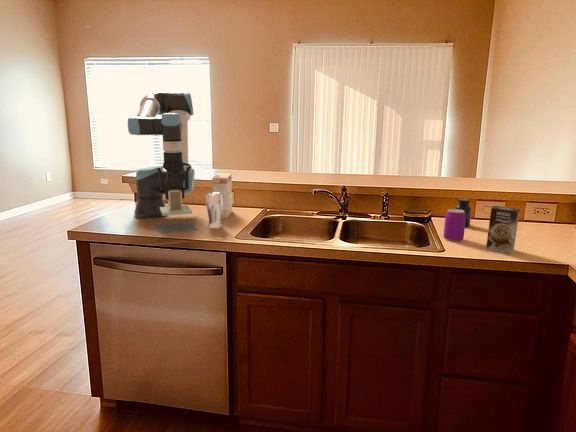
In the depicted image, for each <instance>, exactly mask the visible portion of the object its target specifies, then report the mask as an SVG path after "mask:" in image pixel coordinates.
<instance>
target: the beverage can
mask: <svg viewBox="0 0 576 432" xmlns="http://www.w3.org/2000/svg"><path fill="white" fill-rule="evenodd" d="M465 221H466V216H465V212H464V210H460V209H455V208H448V209H447V211H446V213H445V219H444V226H443V227H444V228H443V229H444V230H443V238H444V239H445V240H446V239H447V240H446V241H449V240H450V241H449V242H455V241H458V242H461V241H462V240H464V239H465V238H464V236H465V228H466V227H465Z"/></svg>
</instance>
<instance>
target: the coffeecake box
mask: <svg viewBox="0 0 576 432" xmlns="http://www.w3.org/2000/svg"><path fill="white" fill-rule="evenodd" d="M211 179H212V192H218V193H222V200H223V207H222V215H221V219H228V218H229V217H230V215H231V214H232V212H233V193H232V190H233V189H232V188H233V186H232V185H233V181H232V179H233V178H232V173H229V172H228V173H227V172H224V173H223V172H219V173H216V175H213V177H212V178H211Z"/></svg>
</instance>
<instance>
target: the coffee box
mask: <svg viewBox="0 0 576 432" xmlns="http://www.w3.org/2000/svg"><path fill="white" fill-rule="evenodd" d="M520 211H521V209H520V208H517V207H509V206H500V205H493V206H492V207H491V210H490V218H489V223H488V224H489V225H488V231H487V238H486V246H485V250H487V249H490V250H489V251H493V250H497V251H496V252H498V251H503V252H502V253H504V252H509V253H508V254H510V253H512V254H513V253H514V251H513V250H515V245H516V244H515V243H516V238H517V237H516V236H517V229H518V223H519V218H520Z"/></svg>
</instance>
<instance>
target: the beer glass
mask: <svg viewBox="0 0 576 432" xmlns="http://www.w3.org/2000/svg"><path fill="white" fill-rule="evenodd" d="M205 198H206V199H205V200H206V201H205V205H206V213H207V217H208V224H207V227H208V228H209V229H221V228H222V227H223V223H222V218H221V215H222V207H223V200H222V193H218V192H213V191H211V192H207V193H206V197H205Z"/></svg>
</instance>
